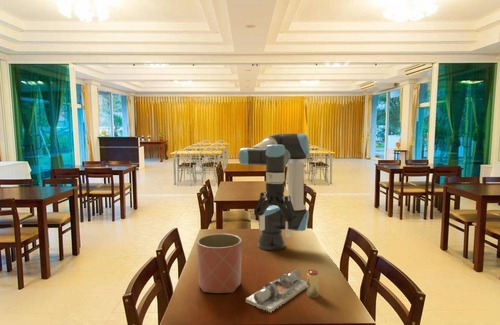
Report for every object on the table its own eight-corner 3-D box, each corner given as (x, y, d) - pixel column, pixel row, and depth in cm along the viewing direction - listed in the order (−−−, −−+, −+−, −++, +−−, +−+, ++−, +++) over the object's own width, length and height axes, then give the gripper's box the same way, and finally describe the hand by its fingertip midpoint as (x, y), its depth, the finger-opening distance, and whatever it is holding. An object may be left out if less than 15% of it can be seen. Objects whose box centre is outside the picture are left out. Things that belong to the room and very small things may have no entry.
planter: (201, 275, 155) (201, 233, 153) (243, 276, 155) (243, 233, 153) (193, 295, 136) (192, 247, 134) (240, 296, 136) (240, 248, 134)
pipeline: (285, 278, 152) (286, 264, 152) (309, 285, 145) (309, 271, 144) (245, 302, 131) (245, 286, 130) (270, 312, 123) (270, 295, 123)
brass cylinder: (310, 290, 140) (310, 268, 139) (320, 294, 137) (321, 271, 136) (304, 295, 137) (304, 271, 136) (315, 298, 133) (315, 275, 133)
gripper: (246, 180, 143) (246, 229, 145) (295, 186, 126) (294, 242, 128) (257, 178, 148) (257, 226, 150) (306, 184, 132) (305, 237, 134)
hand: (274, 233), depth 139 cm, fingers open, 13 cm apart
